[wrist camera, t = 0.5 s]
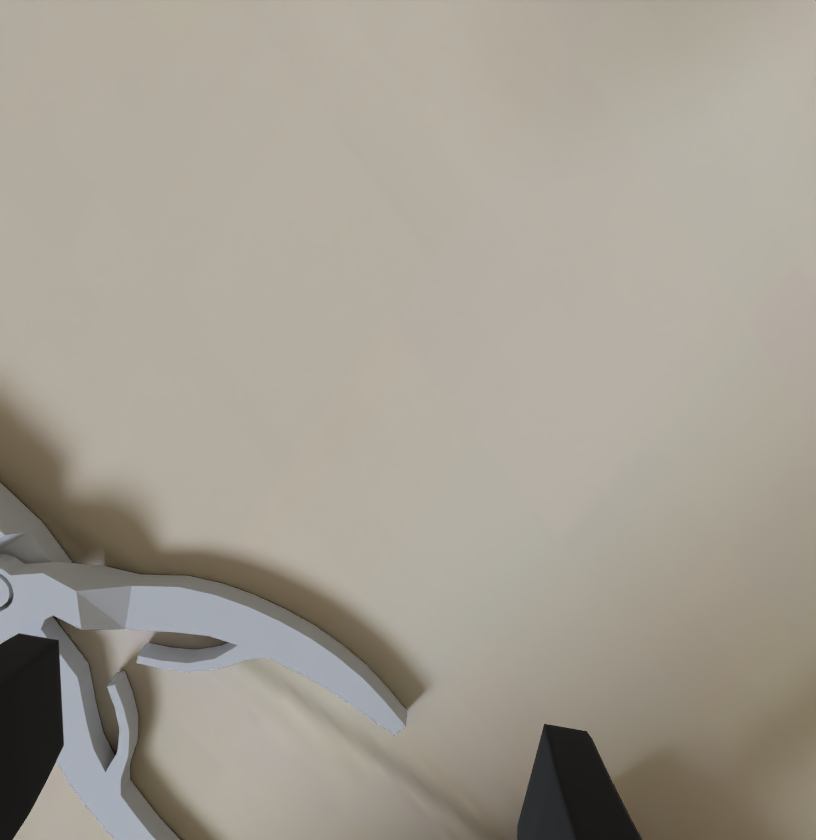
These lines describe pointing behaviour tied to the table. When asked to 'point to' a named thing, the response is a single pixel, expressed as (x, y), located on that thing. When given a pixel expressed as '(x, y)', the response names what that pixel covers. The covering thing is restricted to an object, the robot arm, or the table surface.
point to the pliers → (152, 653)
